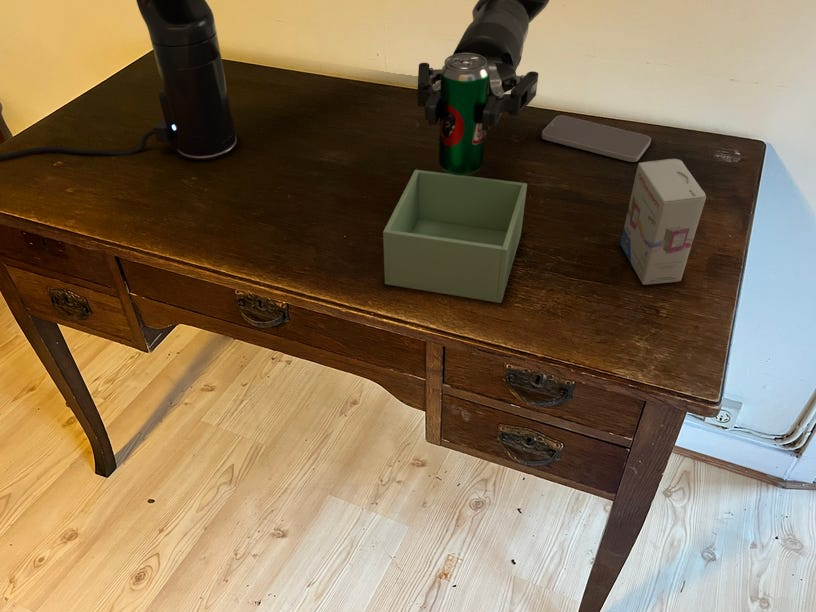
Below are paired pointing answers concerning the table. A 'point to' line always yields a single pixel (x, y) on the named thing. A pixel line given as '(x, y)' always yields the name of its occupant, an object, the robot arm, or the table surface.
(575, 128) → the smartphone
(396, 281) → the open storage box
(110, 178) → the table surface
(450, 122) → the soda can
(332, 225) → the table surface
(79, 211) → the table surface
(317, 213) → the table surface
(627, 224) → the ink box
